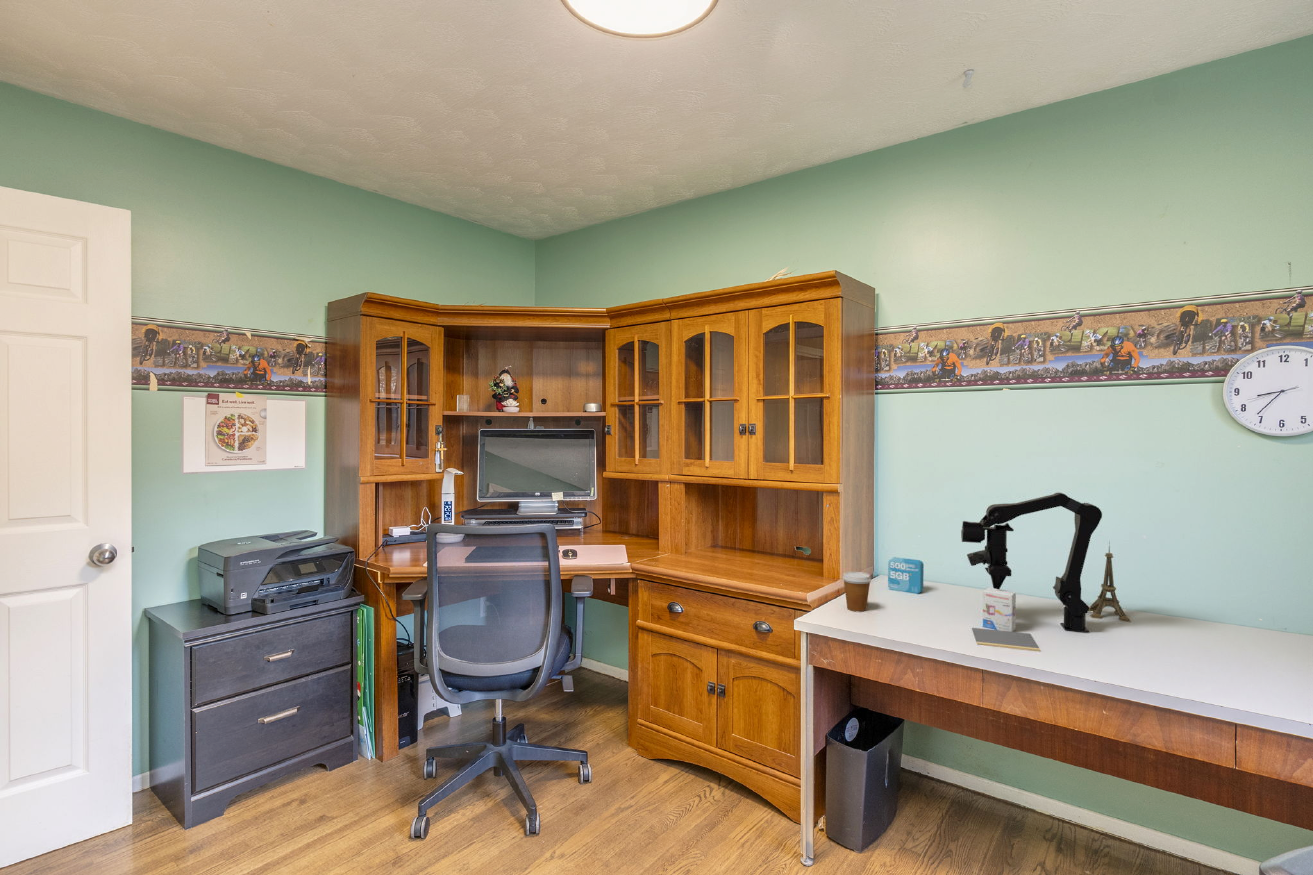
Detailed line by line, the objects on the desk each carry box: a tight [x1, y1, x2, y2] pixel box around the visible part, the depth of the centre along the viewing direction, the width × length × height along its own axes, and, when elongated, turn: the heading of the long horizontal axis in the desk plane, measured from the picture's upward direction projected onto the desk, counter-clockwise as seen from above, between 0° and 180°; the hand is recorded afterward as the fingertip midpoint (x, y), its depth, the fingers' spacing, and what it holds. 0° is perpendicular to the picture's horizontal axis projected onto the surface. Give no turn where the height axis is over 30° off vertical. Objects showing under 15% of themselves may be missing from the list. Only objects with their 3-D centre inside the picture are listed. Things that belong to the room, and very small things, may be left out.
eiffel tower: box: [1088, 540, 1132, 623], centre depth 214 cm, size 11×11×25 cm
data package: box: [887, 556, 925, 595], centre depth 246 cm, size 12×4×12 cm, turn 54°
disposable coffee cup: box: [842, 571, 872, 613], centre depth 222 cm, size 10×10×12 cm
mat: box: [971, 627, 1041, 652], centre depth 191 cm, size 15×16×1 cm
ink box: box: [982, 587, 1017, 632], centre depth 201 cm, size 9×5×12 cm, turn 48°
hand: (996, 591), depth 208 cm, fingers closed
